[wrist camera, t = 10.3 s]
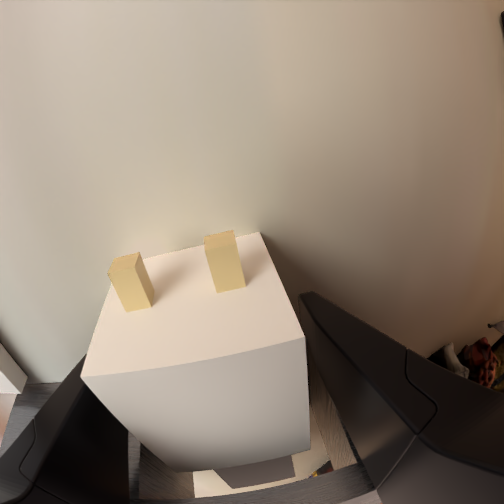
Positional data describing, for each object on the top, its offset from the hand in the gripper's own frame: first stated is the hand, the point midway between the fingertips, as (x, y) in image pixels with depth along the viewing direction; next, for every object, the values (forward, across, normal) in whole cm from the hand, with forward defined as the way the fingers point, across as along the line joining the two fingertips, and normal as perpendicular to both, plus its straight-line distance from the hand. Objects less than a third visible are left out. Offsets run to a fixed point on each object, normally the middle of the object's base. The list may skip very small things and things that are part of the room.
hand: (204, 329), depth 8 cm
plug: (+1, 0, +4) cm, 4 cm away
